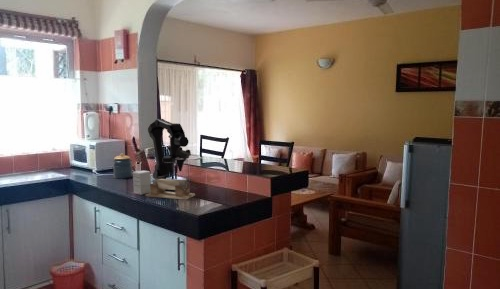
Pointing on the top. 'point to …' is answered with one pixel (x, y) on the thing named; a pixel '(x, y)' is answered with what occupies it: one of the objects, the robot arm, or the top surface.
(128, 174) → the canister
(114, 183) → the top surface
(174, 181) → the rail
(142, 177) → the supplement box
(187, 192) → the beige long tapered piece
